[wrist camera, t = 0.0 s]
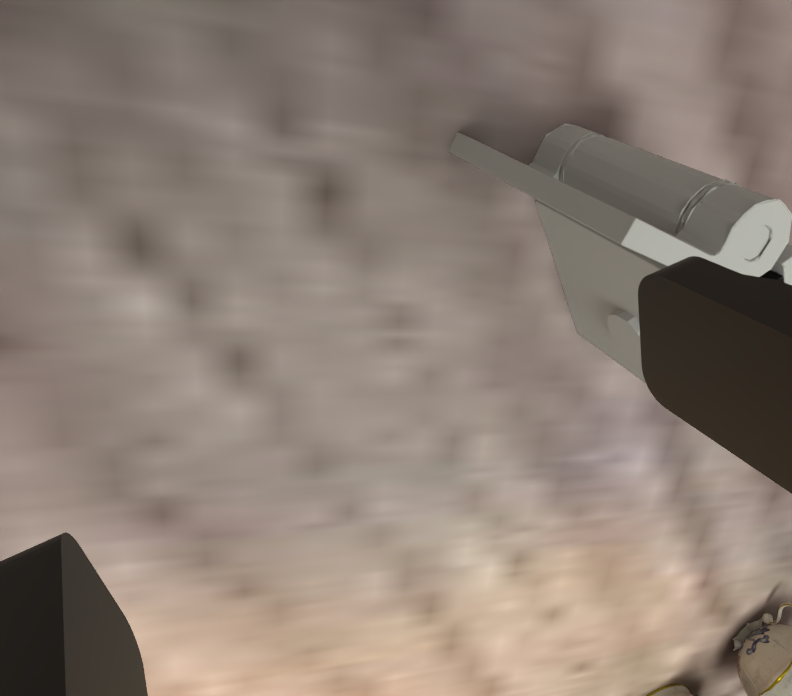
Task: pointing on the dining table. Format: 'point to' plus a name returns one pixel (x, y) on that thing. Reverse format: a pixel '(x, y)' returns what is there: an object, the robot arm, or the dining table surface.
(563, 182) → the hinge
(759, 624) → the chinaware
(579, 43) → the dining table surface
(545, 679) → the dining table surface
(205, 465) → the dining table surface
